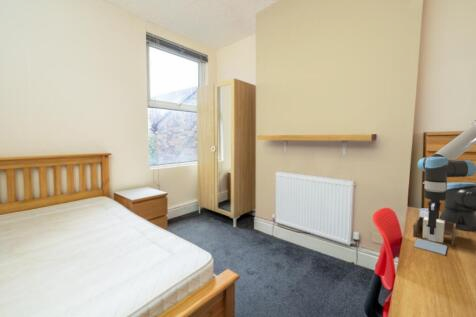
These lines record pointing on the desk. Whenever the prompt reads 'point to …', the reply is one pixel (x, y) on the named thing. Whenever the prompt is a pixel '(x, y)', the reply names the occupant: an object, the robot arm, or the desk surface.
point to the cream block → (439, 229)
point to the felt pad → (430, 246)
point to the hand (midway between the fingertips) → (432, 237)
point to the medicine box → (423, 212)
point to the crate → (448, 229)
